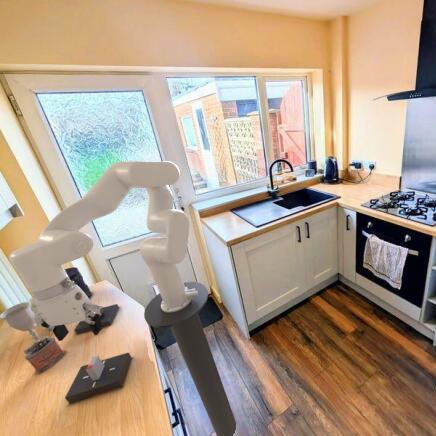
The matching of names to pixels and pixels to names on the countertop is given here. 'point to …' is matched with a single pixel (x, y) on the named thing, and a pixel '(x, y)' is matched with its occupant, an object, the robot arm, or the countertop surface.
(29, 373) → the countertop surface
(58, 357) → the brick-red planter box
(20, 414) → the countertop surface
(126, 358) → the control panel
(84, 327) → the base
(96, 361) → the knob
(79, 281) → the storage jar
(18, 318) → the chalice
